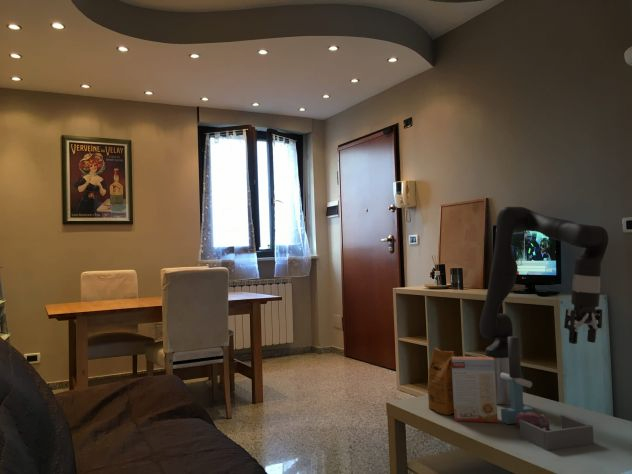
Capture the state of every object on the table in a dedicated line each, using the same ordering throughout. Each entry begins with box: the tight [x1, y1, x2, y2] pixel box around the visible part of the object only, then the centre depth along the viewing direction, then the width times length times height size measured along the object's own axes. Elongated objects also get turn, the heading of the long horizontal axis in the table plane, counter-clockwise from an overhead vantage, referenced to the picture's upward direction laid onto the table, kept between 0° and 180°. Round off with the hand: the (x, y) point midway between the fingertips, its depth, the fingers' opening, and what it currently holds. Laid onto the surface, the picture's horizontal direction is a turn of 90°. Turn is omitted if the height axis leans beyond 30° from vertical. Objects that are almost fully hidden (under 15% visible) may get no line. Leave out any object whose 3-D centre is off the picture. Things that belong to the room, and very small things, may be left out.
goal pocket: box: [519, 414, 595, 451], centre depth 148 cm, size 12×16×5 cm
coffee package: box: [427, 347, 457, 416], centre depth 181 cm, size 10×12×22 cm
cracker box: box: [452, 356, 499, 424], centre depth 170 cm, size 14×6×21 cm, turn 74°
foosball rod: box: [500, 336, 534, 425], centre depth 166 cm, size 14×10×28 cm
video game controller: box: [515, 411, 551, 431], centre depth 157 cm, size 10×5×7 cm, turn 62°
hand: (582, 342), depth 153 cm, fingers open, 8 cm apart
